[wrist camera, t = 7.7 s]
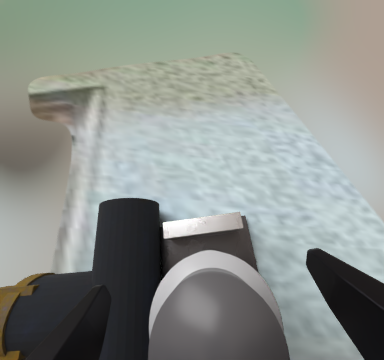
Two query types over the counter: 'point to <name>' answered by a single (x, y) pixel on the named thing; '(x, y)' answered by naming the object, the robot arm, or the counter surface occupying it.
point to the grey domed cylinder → (215, 312)
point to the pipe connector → (84, 281)
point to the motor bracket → (206, 238)
